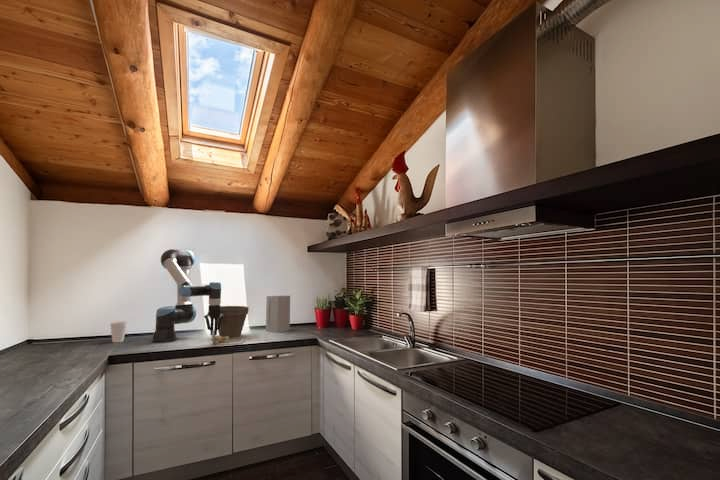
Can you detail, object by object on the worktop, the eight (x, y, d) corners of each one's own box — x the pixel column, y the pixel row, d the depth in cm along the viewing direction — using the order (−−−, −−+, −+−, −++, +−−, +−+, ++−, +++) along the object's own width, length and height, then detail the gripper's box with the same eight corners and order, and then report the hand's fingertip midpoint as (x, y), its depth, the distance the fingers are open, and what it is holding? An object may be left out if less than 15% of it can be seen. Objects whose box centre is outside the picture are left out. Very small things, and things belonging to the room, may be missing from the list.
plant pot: (254, 335, 279) (255, 306, 280) (231, 340, 256) (231, 309, 258) (230, 332, 289) (230, 305, 291) (205, 337, 267) (206, 307, 269)
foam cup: (127, 341, 253) (128, 322, 254) (111, 343, 247) (112, 323, 248) (123, 339, 260) (124, 321, 261) (108, 341, 253) (109, 322, 254)
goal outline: (219, 345, 241) (219, 343, 241) (224, 341, 254) (224, 340, 254) (241, 344, 243) (241, 343, 243) (244, 340, 256) (244, 339, 256)
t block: (212, 344, 243) (213, 338, 243) (216, 342, 251) (216, 336, 251) (226, 344, 244) (227, 338, 244) (229, 341, 252) (229, 335, 252)
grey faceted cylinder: (267, 333, 287) (267, 297, 290) (265, 330, 301) (266, 296, 304) (291, 331, 293) (292, 296, 296) (289, 329, 307) (289, 295, 310)
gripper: (202, 305, 244) (201, 341, 242) (223, 305, 246) (222, 340, 244) (206, 304, 252) (205, 339, 250) (225, 304, 253) (224, 338, 251)
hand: (213, 340), depth 247 cm, fingers closed
